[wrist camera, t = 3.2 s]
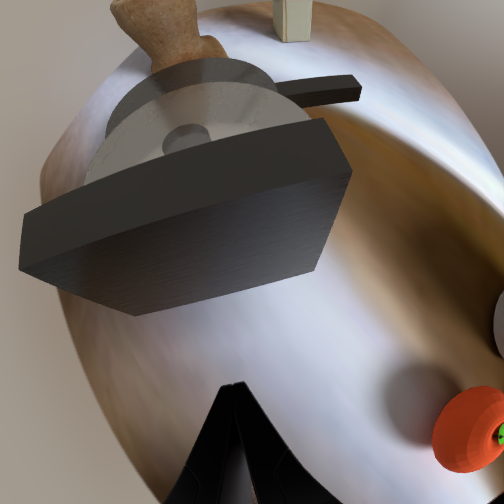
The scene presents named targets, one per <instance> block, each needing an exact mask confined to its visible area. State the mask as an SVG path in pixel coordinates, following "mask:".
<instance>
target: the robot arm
mask: <svg viewBox="0 0 504 504" xmlns="http://www.w3.org/2000/svg"><path fill="white" fill-rule="evenodd" d="M185 465H186V466H184V467H183V470H182V472H181V474H180V476H179V478H178V480H177V482H176V483H175V485H174V487H173V489H172V490H171V492H170V494H169V495H168V497H167V498H166V500H165V501H164V503H163V504H253V502H252V489H251V480H252V484H253V487H254V491H255V494H256V497H257V501H258V504H343V503H341V502H340V501H339V500H338V499H337V498H336V497H334V496H333V495H332V494H331V493H330V492H329V491H328V490H327V489H325V488H324V487H323V486H322V485H321V484H320V483H319V482H318V481H317V480H316V479H315V478H314V477H313V476H312V475H311V474H310V473H309V472H308V471H307V470H306V469H305V468H304V467H303V466H302V464H301V463H300V462H299V461H298V459H297V458H296V457H295V455H294V454H293V453H292V451H291V450H290V449H289V447H288V446H287V444H286V443H285V441H284V440H283V439H282V437H281V436H280V434H279V433H278V431H277V430H276V428H275V427H274V426H273V424H272V423H271V421H270V420H269V418H268V417H267V415H266V414H265V412H264V411H263V409H262V408H261V406H260V404H259V403H258V401H257V400H256V398H255V397H254V395H253V394H252V392H251V391H250V389H249V387H248V386H247V384H246V383H245V382H244V381H241V382H237V383H234V384H227V385H223V386H221V387H220V389H219V391H218V393H217V395H216V398H215V400H214V402H213V404H212V407H211V409H210V411H209V413H208V416H207V418H206V420H205V422H204V424H203V427H202V429H201V431H200V433H199V435H198V437H197V440H196V442H195V444H194V446H193V448H192V450H191V453H190V455H189V457H188V459H187V461H186V463H185ZM488 504H504V491H503V492H501V493H500V494H499V495H498V496H497V497H495V498H494V499H493V500H492V501H490V502H489V503H488Z"/></svg>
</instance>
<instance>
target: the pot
mask: <svg viewBox="0 0 504 504" xmlns="http://www.w3.org/2000/svg"><path fill="white" fill-rule="evenodd" d="M210 82H238V83H246V84H251V85H256V86H260V87H263V88H266V89H269V90H272V91H274V92H276V93H278V94H280V95H283V96H284V97H286V98H288V99H289V100H291V101H292V102H294V103H295V104H296V105H298V106H299V107H300V108H306V107H312V106H319V105H327V104H335V103H344V102H353V101H359V98H360V94H361V90H362V86H361V85H360V84H359V82H358V81H357V80H356V79H355V78H354V76H353V75H337V76H325V77H315V78H307V79H299V80H292V81H285V82H278V83H274V82H273V80H272V79H271V77H270V76H269V75H268V74H267V73H265V72H264V71H263V70H261V69H260V68H258V67H256V66H254V65H252V64H250V63H247V62H245V61H241V60H237V59H231V58H219V57H216V58H201V59H194V60H189V61H185V62H181V63H178V64H175V65H172V66H169V67H167V68H165V69H162V70H160V71H158V72H156V73H154V74H152V75H151V76H149V77H147V78H146V79H144V80H143V81H141V82H140V83H139V84H137V85H136V86H135V87H134V88H133V89H131V90H130V91H129V92H128V93H127V94H126V95H125V96H124V97H123V98H122V100H121V101H120V102H119V103H118V105H117V106H116V108H115V109H114V111H113V113H112V115H111V116H110V119H109V121H108V124H107V128H106V137H105V140H106V138H107V137H108V136H109V135H110V134H111V132H112V131H113V130H114V129H115V128H116V127H117V126H118V125H119V124H120V123H121V122H122V121H123V120H125V119H126V118H127V117H128V116H129V115H131V114H132V113H133V112H134V111H136V110H137V109H139V108H140V107H142V106H143V105H145V104H147V103H148V102H150V101H152V100H154V99H156V98H158V97H160V96H162V95H164V94H167V93H169V92H172V91H175V90H177V89H180V88H184V87H188V86H192V85H196V84H202V83H210Z"/></svg>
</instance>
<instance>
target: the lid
mask: <svg viewBox="0 0 504 504" xmlns="http://www.w3.org/2000/svg"><path fill="white" fill-rule="evenodd" d="M352 172H353V171H352V169H351V167H350V165H349V163H348V161H347V159H346V157H345V155H344V154H343V152H342V150H341V148H340V146H339V144H338V143H337V141H336V139H335V137H334V135H333V134H332V132H331V130H330V128H329V127H328V125H327V123H326V122H325V120H324V118H318V119H311V118H310V117H309V116H308V115H307V113H306V112H305V111H304V110H302V109H301V108H300V107H299V106H298V105H296V104H295V103H294V102H292V101H291V100H289V99H288V98H286V97H284V96H283V95H280V94H278V93H276V92H274V91H272V90H269V89H266V88H263V87H260V86H256V85H251V84H246V83H238V82H210V83H202V84H196V85H192V86H188V87H184V88H180V89H177V90H175V91H172V92H169V93H167V94H164V95H162V96H160V97H158V98H156V99H154V100H152V101H150V102H148V103H147V104H145V105H143V106H142V107H140V108H139V109H137V110H136V111H134V112H133V113H132V114H131V115H129V116H128V117H127V118H126V119H125V120H123V121H122V122H121V123H120V124H119V125H118V126H117V127H116V128H115V129H114V130H113V131H112V132H111V134H110V135H109V136H108V137H107V138H106V140H105V141H104V142H103V144H102V145H101V147H100V148H99V150H98V151H97V153H96V155H95V157H94V159H93V160H92V162H91V165H90V167H89V170H88V172H87V175H86V178H85V182H84V186H82V187H80V188H78V189H75V190H73V191H71V192H69V193H66V194H64V195H62V196H60V197H58V198H56V199H54V200H52V201H49V202H47V203H45V204H43V205H41V206H39V207H38V208H35V209H33V210H32V211H30V212H28V213H26V214H24V219H23V227H22V235H21V244H20V256H19V270H20V271H22V272H25V273H26V274H29V275H31V276H33V277H35V278H37V279H40V280H42V281H44V282H47V283H49V284H51V285H53V286H56V287H58V288H60V289H63V290H65V291H68V292H70V293H73V294H75V295H78V296H80V297H83V298H85V299H88V300H91V301H93V302H96V303H98V304H101V305H104V306H107V307H109V308H112V309H115V310H118V311H121V312H124V313H126V314H129V315H132V316H139V315H143V314H148V313H152V312H156V311H161V310H165V309H169V308H174V307H178V306H182V305H186V304H190V303H194V302H198V301H203V300H207V299H211V298H215V297H219V296H223V295H226V294H230V293H234V292H238V291H242V290H246V289H250V288H253V287H257V286H261V285H265V284H268V283H272V282H276V281H280V280H283V279H287V278H291V277H294V276H298V275H301V274H305V273H308V272H312V271H314V269H315V267H316V265H317V262H318V260H319V257H320V255H321V253H322V250H323V248H324V245H325V243H326V240H327V238H328V235H329V233H330V230H331V228H332V225H333V223H334V220H335V218H336V215H337V213H338V210H339V207H340V205H341V202H342V199H343V197H344V194H345V191H346V189H347V186H348V183H349V180H350V178H351V175H352Z"/></svg>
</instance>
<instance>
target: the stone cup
mask: <svg viewBox="0 0 504 504" xmlns="http://www.w3.org/2000/svg"><path fill="white" fill-rule="evenodd" d="M110 10H111V12H112V14H113V16H114V17H115V19H116V21H117V23H118V25H119V26H120V28H121V29H122V30H123V31H124V32H125V33H126V34H127V35H129V36H130V37H131V38H132V39H133V40H134V41H135V42H136V43H137V44H138V45H139V46H140V47H141V48H142V49H143V50H144V51H145V52H146V53H147V54H148V55H149V56H150V57H151V59H152V66H151V70H152V74H154V73H156V72H158V71H160V70H162V69H165V68H167V67H169V66H172V65H175V64H178V63H181V62H185V61H189V60H194V59H201V58H216V57H219V58H229V57H228V56H227V54H226V52H225V50H224V48H223V47H222V45H221V44H220V43H219V41H218V40H217V39H216V38H215V37H213V36H210V35H206V36H200V34H199V30H198V24H197V8H196V2H195V0H114V1H113V2H112V3H111V5H110Z"/></svg>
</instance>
